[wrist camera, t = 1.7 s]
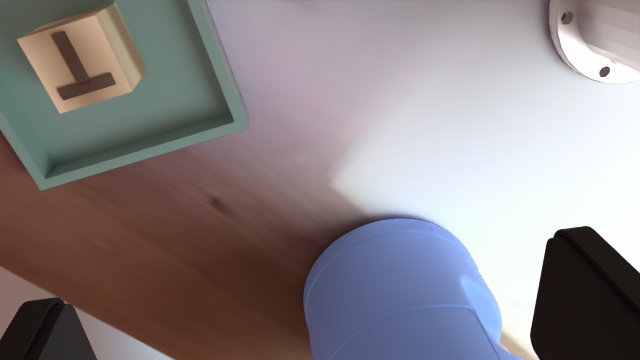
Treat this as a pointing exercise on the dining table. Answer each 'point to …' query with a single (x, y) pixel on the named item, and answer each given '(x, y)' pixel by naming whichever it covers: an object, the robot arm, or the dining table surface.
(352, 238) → the water jug
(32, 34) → the letter cube
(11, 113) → the green tray
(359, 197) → the dining table surface
